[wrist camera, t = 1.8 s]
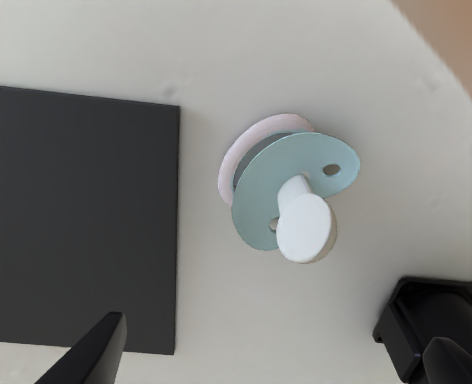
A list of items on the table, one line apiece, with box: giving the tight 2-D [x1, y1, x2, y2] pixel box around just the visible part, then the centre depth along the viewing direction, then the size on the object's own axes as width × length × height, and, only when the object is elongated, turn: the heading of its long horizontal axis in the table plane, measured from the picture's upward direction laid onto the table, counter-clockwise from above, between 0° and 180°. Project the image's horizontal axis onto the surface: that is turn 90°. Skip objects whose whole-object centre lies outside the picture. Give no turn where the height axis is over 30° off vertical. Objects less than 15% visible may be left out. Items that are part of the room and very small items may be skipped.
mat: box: [0, 86, 179, 355], centre depth 20 cm, size 15×20×1 cm
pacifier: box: [218, 113, 360, 264], centre depth 15 cm, size 7×6×6 cm
